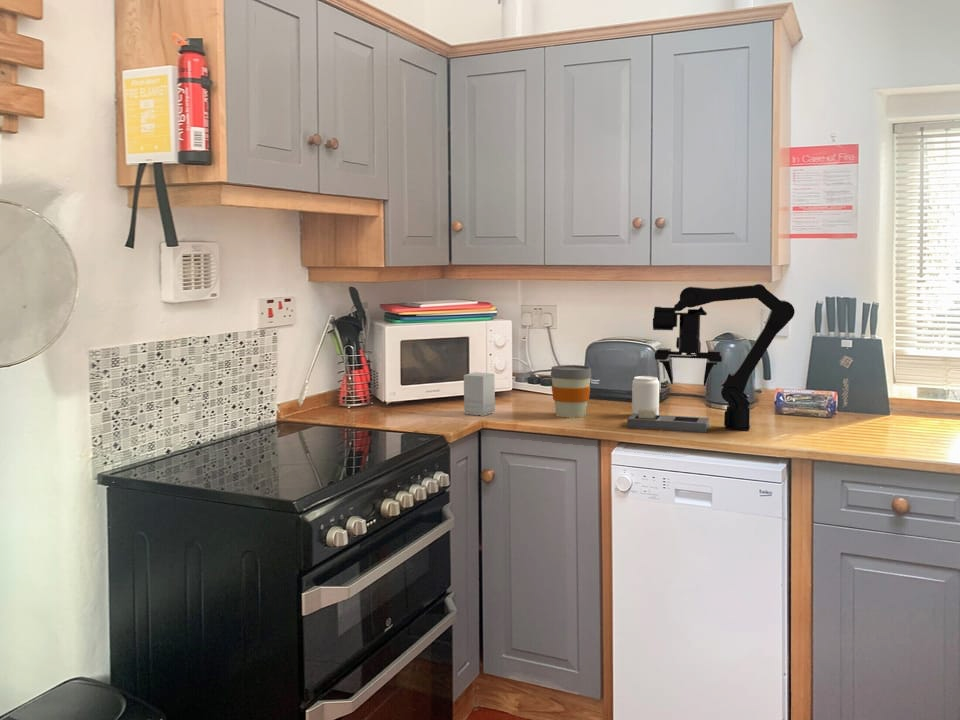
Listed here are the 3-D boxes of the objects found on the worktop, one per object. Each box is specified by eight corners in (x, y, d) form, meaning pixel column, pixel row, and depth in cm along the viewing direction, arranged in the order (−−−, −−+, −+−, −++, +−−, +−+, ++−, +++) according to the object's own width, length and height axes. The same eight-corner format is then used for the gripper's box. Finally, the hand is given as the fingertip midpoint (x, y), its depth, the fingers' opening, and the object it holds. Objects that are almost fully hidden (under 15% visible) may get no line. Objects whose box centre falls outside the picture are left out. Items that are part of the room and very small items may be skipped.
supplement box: (495, 412, 267) (495, 373, 265) (483, 416, 261) (482, 376, 259) (476, 410, 271) (475, 371, 269) (463, 414, 264) (462, 374, 263)
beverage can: (658, 419, 255) (659, 379, 253) (631, 418, 256) (632, 379, 255) (658, 414, 262) (659, 376, 261) (632, 413, 264) (632, 375, 263)
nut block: (656, 425, 246) (656, 408, 245) (653, 427, 242) (654, 410, 241) (640, 424, 248) (641, 407, 247) (638, 427, 243) (638, 409, 243)
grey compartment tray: (709, 426, 243) (709, 417, 243) (705, 432, 235) (706, 423, 234) (632, 421, 251) (632, 413, 250) (627, 427, 242) (627, 418, 242)
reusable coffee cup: (570, 420, 253) (571, 371, 251) (542, 415, 262) (542, 367, 261) (599, 415, 260) (600, 367, 259) (570, 410, 270) (571, 363, 268)
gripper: (725, 329, 245) (724, 382, 247) (660, 327, 252) (659, 379, 254) (722, 332, 235) (720, 387, 237) (654, 330, 241) (653, 384, 243)
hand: (688, 384), depth 243 cm, fingers open, 9 cm apart
